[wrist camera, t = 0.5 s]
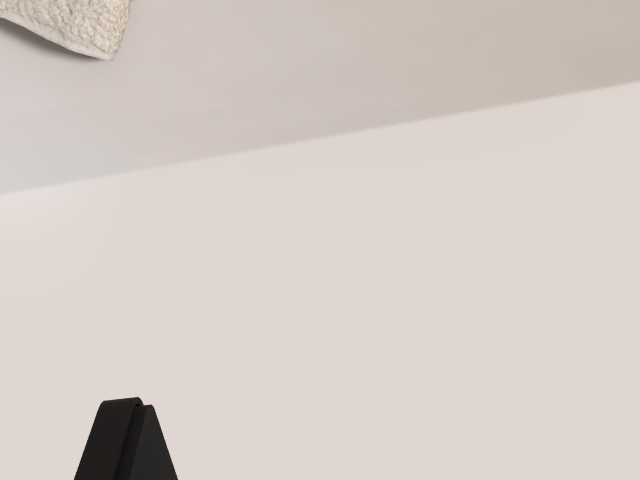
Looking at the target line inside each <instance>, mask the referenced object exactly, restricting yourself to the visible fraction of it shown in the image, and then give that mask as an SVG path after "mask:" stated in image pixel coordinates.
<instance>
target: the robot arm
mask: <svg viewBox="0 0 640 480" xmlns="http://www.w3.org/2000/svg"><path fill="white" fill-rule="evenodd" d="M74 480H178V478H177V475H176V472H175V469H174V466H173V463H172V460H171V457H170V454H169V451H168V449H167V445H166V442H165V439H164V436H163V433H162V430H161V427H160V424H159V421H158V418H157V415H156V412H155V409H154V407H153V406H152V405H143V403H142V400H141V399H140V398H138V397H134V398H126V399H116V400H108V401H103V402H102V403H101V405H100V407H99V409H98V412H97V414H96V417H95V420H94V423H93V426H92V429H91V432H90V435H89V437H88V440H87V443H86V446H85V449H84V452H83V455H82V458H81V461H80V464H79V467H78V469H77V472H76V475H75V478H74Z"/></svg>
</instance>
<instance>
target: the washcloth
mask: <svg viewBox="0 0 640 480" xmlns="http://www.w3.org/2000/svg"><path fill="white" fill-rule="evenodd" d="M131 1H132V0H0V18H3V19H6V20H8V21H11V22H13V23H15V24H17V25H19V26H22V27H24V28H26V29H28V30H30V31H32V32H33V33H36V34H37V35H39V36H42V37H44V38H45V39H47V40H49V41H52V42H54V43H56V44H58V45H61V46H63V47H65V48H66V49H69V50H71V51H74V52H77V53H80V54H84V55H87V56H92V57H95V58H99V59H101V60H103V61H113V60H114V58H115V55H116V53H117V52H118V51H119V48H120V47H121V41H122V37H123V34H124V31H125V28H126V22H127V20H128V15H129V11H130V4H131Z"/></svg>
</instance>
